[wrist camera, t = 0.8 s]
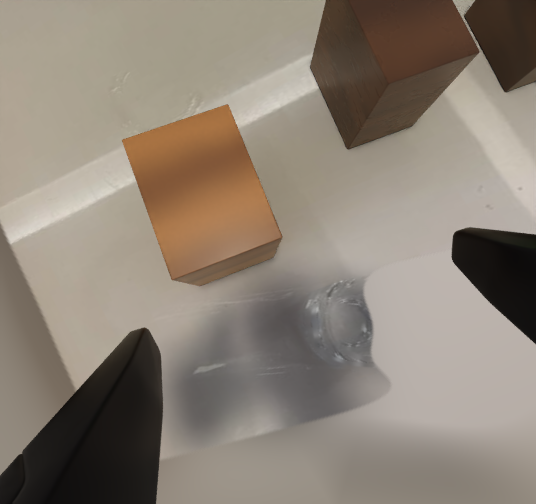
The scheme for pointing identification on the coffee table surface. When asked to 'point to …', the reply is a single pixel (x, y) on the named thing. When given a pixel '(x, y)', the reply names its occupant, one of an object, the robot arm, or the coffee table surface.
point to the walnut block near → (387, 62)
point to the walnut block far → (507, 38)
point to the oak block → (203, 197)
